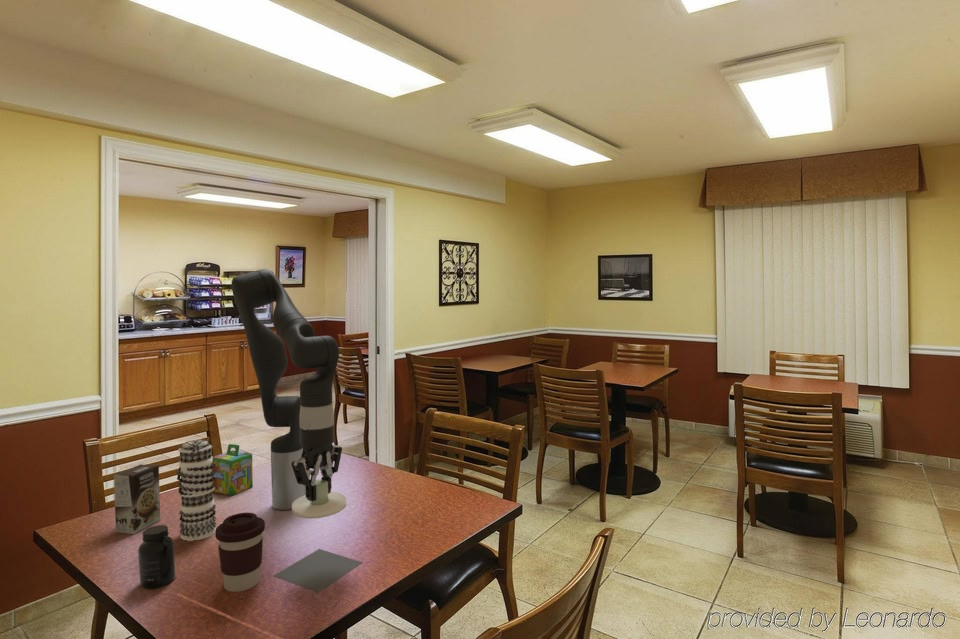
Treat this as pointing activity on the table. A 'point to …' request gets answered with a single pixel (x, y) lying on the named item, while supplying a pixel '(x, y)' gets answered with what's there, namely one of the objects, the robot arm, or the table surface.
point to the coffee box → (137, 498)
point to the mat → (318, 570)
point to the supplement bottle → (156, 558)
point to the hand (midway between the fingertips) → (318, 496)
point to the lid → (319, 503)
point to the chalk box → (232, 471)
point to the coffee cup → (240, 550)
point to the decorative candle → (196, 490)
